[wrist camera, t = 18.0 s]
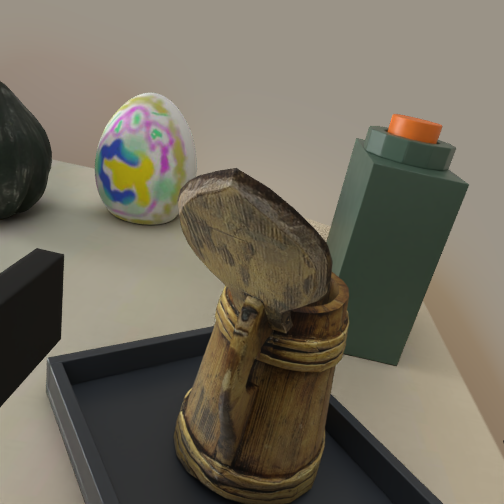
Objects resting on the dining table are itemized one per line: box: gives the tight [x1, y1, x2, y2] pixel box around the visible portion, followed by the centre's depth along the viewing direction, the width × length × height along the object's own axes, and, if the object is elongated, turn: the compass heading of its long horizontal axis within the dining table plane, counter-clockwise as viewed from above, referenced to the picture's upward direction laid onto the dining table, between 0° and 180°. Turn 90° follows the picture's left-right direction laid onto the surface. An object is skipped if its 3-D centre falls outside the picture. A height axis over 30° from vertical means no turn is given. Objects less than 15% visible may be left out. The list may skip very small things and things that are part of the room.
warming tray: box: [46, 326, 443, 504], centre depth 26 cm, size 20×15×3 cm
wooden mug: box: [173, 168, 349, 504], centre depth 22 cm, size 9×14×18 cm, turn 154°
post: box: [326, 126, 469, 366], centre depth 41 cm, size 12×7×18 cm, turn 174°
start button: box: [388, 114, 442, 144], centre depth 38 cm, size 4×4×2 cm
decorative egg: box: [95, 93, 197, 225], centre depth 57 cm, size 12×12×15 cm
